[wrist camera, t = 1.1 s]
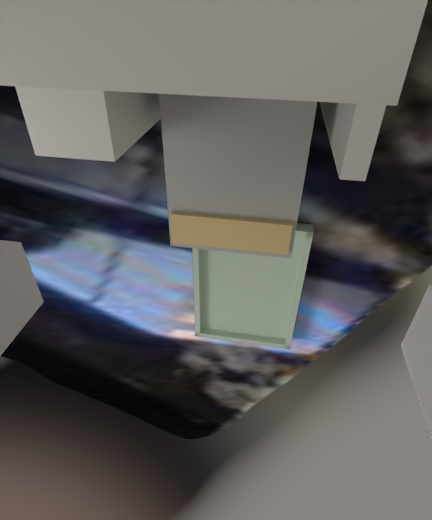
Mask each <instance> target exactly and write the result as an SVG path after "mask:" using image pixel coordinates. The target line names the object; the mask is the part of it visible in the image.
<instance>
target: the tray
mask: <svg viewBox="0 0 432 520" xmlns="http://www.w3.org/2000/svg"><path fill="white" fill-rule="evenodd" d="M313 233H314V232H313V224H302V223H297V226H296V232H295V238H294V244H293V250H292V256H291V259H290V258H281V257H272V256H262V255H253V254H243V253H234V252H225V251H215V250H206V249H197V248H192V250H193V280H194V309H195V336H199V337H207V338H214V339H221V340H228V341H236V342H243V343H250V344H257V345H265V346H272V347H279V348H286V349H290V346H291V341H292V336H293V331H294V326H295V321H296V316H297V311H298V306H299V302H300V297H301V292H302V287H303V282H304V277H305V272H306V267H307V262H308V257H309V252H310V248H311V243H312V238H313Z"/></svg>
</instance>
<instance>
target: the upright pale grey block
mask: <svg viewBox="0 0 432 520" xmlns="http://www.w3.org/2000/svg"><path fill="white" fill-rule="evenodd" d="M159 100H160V113H161V126H162V139H163V152H164V165H165V179H166V192H167V205H168V218H169V231H170V244H171V246H178V247H187V248H197V249H206V250H215V251H225V252H234V253H243V254H253V255H262V256H272V257H281V258H290V259H291V256H292V250H293V244H294V238H295V232H296V226H297V220H298V214H299V208H300V202H301V196H302V191H303V185H304V179H305V173H306V167H307V161H308V155H309V149H310V143H311V137H312V131H313V125H314V119H315V113H316V107H317V102H314V101H294V100H275V99H255V98H236V97H216V96H196V95H177V94H159Z"/></svg>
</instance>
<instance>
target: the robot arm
mask: <svg viewBox="0 0 432 520" xmlns="http://www.w3.org/2000/svg"><path fill="white" fill-rule="evenodd" d="M43 302H44V301H43V299H42V296H41V293H40V291H39V288H38V286H37V283H36V280H35V278H34V275H33V273H32V270H31V267H30V265H29V262H28V259H27V257H26V254H25V252H24V249H23V246H22V244H21V242H14V241H4V240H0V356H1V354H2V353H3V352H4V351H5V349H6V348H7V347H8V346H9V344H10V343H11V342H12V341H13V339H14V338H15V337H16V336H17V334H18V333H19V332H20V331H21V329H22V328H23V327H24V326H25V324H26V323H27V322H28V321H29V319H30V318H31V317H32V316H33V314H34V313H35V312H36V311H37V309H38V308H39V307H40V306H41V304H42V303H43ZM401 348H402V351H403V355H404V358H405V361H406V364H407V367H408V370H409V373H410V377H411V380H412V383H413V386H414V389H415V393H416V396H417V399H418V402H419V405H420V408H421V412H422V415H423V418H424V421H425V424H426V427H427V430H428V433H429V437H430V439H431V443H432V284H430V285H429V287H428V289H427V291H426V293H425V295H424V297H423V300H422V302H421V304H420V306H419V308H418V310H417V312H416V315H415V316H414V319H413V321H412V323H411V325H410V327H409V329H408V331H407V334H406V336H405V338H404V340H403V342H402V344H401Z"/></svg>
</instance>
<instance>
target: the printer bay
mask: <svg viewBox="0 0 432 520" xmlns="http://www.w3.org/2000/svg"><path fill="white" fill-rule="evenodd" d="M427 2H428V0H0V85H1V86H15V88H16V91H17V94H18V98H19V101H20V105H21V108H22V111H23V115H24V118H25V122H26V125H27V128H28V132H29V135H30V139H31V142H32V145H33V149H34V152H35V156H46V157H59V158H72V159H85V160H98V161H111V162H115V161H116V160H117V159H118V158H119V157H120V156H122V155H123V154H124V153H125V152H126V151H127V150H128V149H129V148H130V147H131V146H132V145H133V144H134V143H135V142H136V141H137V140H139V139H140V138H141V137H142V136H143V135H144V134H145V133H146V132H147V131H148V130H149V129H150V128H151V127H152V126H153V125H154V124H156V123H157V122H158V121H159V120H160V119H161V113H160V100H159V94H177V95H196V96H216V97H236V98H255V99H275V100H294V101H314V102H319V103H320V107H321V110H322V114H323V118H324V122H325V126H326V130H327V133H328V137H329V141H330V145H331V149H332V153H333V157H334V160H335V164H336V168H337V172H338V176H339V179H343V180H356V181H365V180H366V177H367V173H368V169H369V166H370V162H371V159H372V155H373V151H374V148H375V144H376V141H377V137H378V133H379V130H380V126H381V122H382V119H383V115H384V112H385V108H386V105H392V106H397V104H398V101H399V97H400V94H401V90H402V87H403V84H404V80H405V77H406V73H407V70H408V67H409V63H410V60H411V56H412V53H413V50H414V46H415V43H416V39H417V36H418V32H419V29H420V26H421V22H422V19H423V15H424V12H425V9H426V5H427Z"/></svg>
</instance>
